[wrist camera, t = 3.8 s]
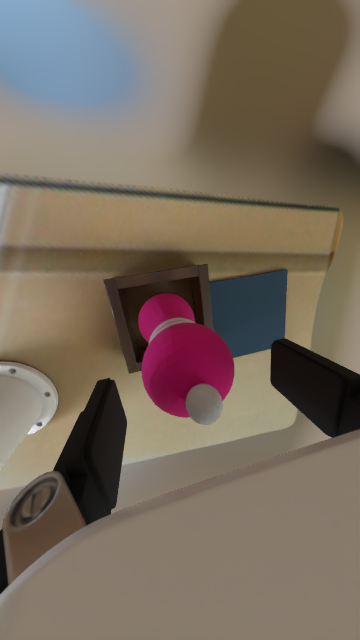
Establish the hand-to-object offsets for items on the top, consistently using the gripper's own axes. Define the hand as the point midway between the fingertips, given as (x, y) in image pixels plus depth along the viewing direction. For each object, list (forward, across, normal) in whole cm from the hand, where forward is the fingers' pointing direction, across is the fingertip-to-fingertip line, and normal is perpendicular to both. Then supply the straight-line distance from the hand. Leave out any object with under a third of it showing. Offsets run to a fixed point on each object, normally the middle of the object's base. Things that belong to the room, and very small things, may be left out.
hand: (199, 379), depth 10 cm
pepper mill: (+18, +1, 0) cm, 18 cm away
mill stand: (+18, +1, 0) cm, 18 cm away
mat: (+18, -14, +4) cm, 23 cm away
